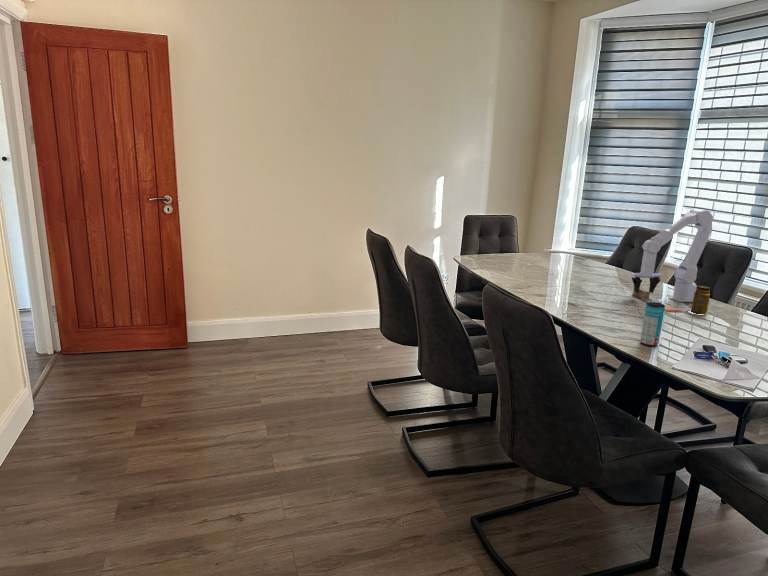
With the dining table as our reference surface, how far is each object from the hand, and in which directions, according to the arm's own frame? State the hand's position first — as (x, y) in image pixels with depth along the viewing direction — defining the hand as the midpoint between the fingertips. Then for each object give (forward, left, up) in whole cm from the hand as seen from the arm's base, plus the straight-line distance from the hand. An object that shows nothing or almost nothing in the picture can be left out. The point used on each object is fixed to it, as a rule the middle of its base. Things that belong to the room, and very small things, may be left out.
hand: (643, 292), depth 257 cm
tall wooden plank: (0, +2, -3) cm, 4 cm away
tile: (0, +16, -3) cm, 16 cm away
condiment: (-10, +25, -3) cm, 27 cm away
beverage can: (+40, +65, -3) cm, 76 cm away
